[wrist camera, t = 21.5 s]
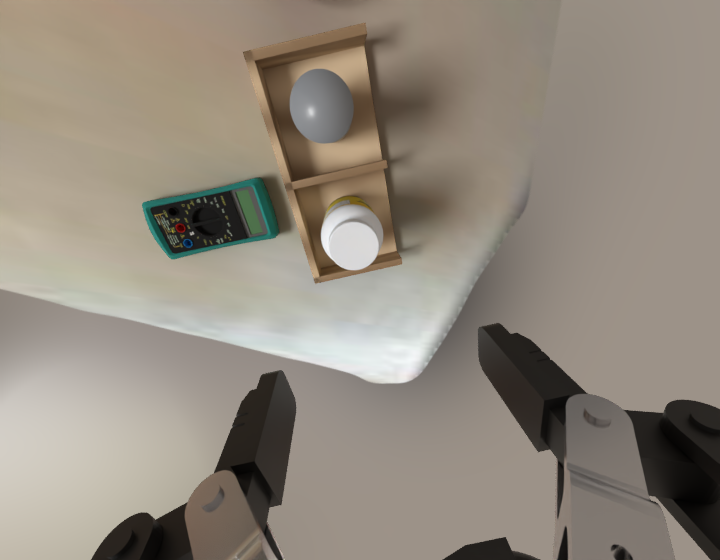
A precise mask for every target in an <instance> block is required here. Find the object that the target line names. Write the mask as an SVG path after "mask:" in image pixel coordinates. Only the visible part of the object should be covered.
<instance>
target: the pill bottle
mask: <svg viewBox="0 0 720 560" xmlns="http://www.w3.org/2000/svg"><path fill="white" fill-rule="evenodd" d="M321 241H322V245H323V248H324V250H325V252H326V253H327V255H328V256H329V257H330V258H331V259H332V260H333V261H334V262H335V263H336V264H337V265H339V266H340V267H342V268H344V269H347V270H360V269H363V268H365V267H367V266H369V265H370V264H371V263H372V262H373V261H374V260H375V258H376V257H377V254H378V252H379V251H380V248H381V246H382V243H383V229H382V225H381V223H380V221H379V219H378V218H377V216H376V215H375V213H374V212H373V210H372V208H371V207H370V206H369V204H368V203H367V202H366V201H364V200H363V199H361V198H359V197H356V196H343V197H340V198H338V199H336V200H335V201H333V202H332V203H331V204H330V206H329V207H328V209H327V211H326V213H325V217H324V221H323V225H322V229H321Z"/></svg>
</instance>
